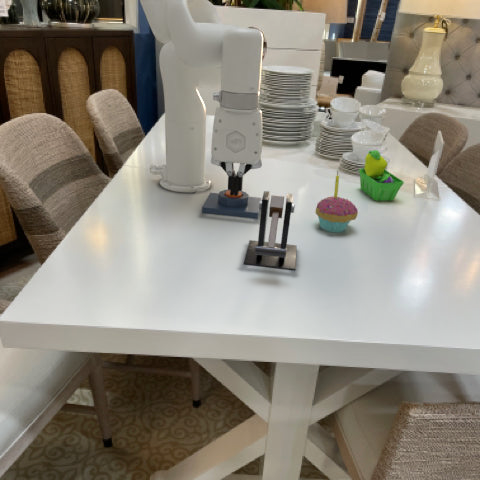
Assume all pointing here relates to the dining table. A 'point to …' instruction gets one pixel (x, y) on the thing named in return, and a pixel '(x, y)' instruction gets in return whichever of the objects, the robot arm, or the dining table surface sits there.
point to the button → (233, 195)
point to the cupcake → (335, 211)
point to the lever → (273, 230)
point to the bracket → (272, 261)
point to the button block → (232, 205)
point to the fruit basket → (378, 178)
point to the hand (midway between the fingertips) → (234, 193)
